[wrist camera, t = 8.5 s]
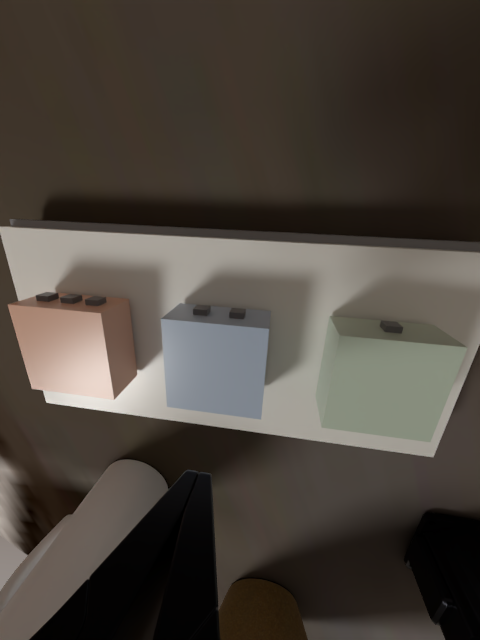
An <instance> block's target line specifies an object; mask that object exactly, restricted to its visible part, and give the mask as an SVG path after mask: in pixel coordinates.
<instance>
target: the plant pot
mask: <svg viewBox="0 0 480 640" xmlns="http://www.w3.org/2000/svg"><path fill="white" fill-rule="evenodd" d="M219 628H220V640H308V639H307V636H306V632H305V629H304V625H303V622H302V619H301V615H300V612H299V609H298V606H297V602H296V600H295V599H294V597H293V596H292V594H291V593H290V592H289V591H287V590H286V589H285V588H283V587H281V586H280V585H278V584H275V583H273V582H270V581H267V580H262V579H242V580H239V581H237V582H235V583H233V584H232V585H231V586H230V588H229V590H228V592H227V594H226V596H225V598H224V600H223V603H222V605H221V607H220V609H219Z"/></svg>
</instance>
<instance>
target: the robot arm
mask: <svg viewBox="0 0 480 640" xmlns="http://www.w3.org/2000/svg"><path fill="white" fill-rule="evenodd" d="M404 561H405V564H406V566H407V567H408V568H409V569H412V571H413V574H414V576H415V579H416V582H417V584H418V587H419V589H420V592H421V595H422V597H423V600H424V603H425V605H426V608H427V611H428V613H429V616H430V618H431V620H432V621H433V623H434V624H435V625H439V626H440V627H441V630H442V632H443V635H444V637H445V640H480V521H476V520H470V519H464V518H458V517H452V516H446V515H440V514H434V513H427V514H425V515H423V517H422V519H421V522H420V524H419V526H418V528H417V531H416V533H415V535H414V538H413V540H412V542H411V544H410V547H409V549H408V551H407V553H406V556H405V558H404ZM29 640H220V628H219V611H218V592H217V572H216V553H215V533H214V514H213V494H212V476H211V474H210V473H205V472H200V473H199V472H198V471H193V470H186V471H185V472H184V473H183V474H182V475H181V476H180V477H179V479H178V480H177V481H176V482H175V483H174V484H173V485H172V486H171V487H170V488H169V490H168V491H167V492H166V493H165V494H164V495H163V496H162V497H161V498H160V499H159V501H158V502H157V503H156V504H155V505H154V506H153V507H152V508H151V509H150V510H149V512H148V513H147V514H146V515H145V516H144V517H143V518H142V519H141V520H140V521H139V523H138V524H137V525H136V526H135V527H134V528H133V529H132V530H131V531H130V532H129V534H128V535H127V536H126V537H125V538H124V539H123V540H122V541H121V542H120V543H119V545H118V546H117V547H116V548H115V549H114V550H113V551H112V552H111V553H110V554H109V556H108V557H107V558H106V559H105V560H104V561H103V562H102V563H101V564H100V565H99V567H98V568H97V569H96V570H95V571H94V572H93V573H92V574H91V575H90V578H89V579H87V580H86V581H85V582H84V583H83V584H82V585H81V586H80V587H79V588H78V589H77V591H76V592H75V593H74V594H73V595H72V596H71V597H70V598H69V599H68V600H67V601H66V602H65V603H64V605H63V606H62V607H61V608H60V609H59V610H58V611H57V612H56V613H55V614H54V615H53V616H52V617H51V618H50V619H49V620H48V621H47V622H46V623H45V624H44V625H43V626H42V627H41V628H40V629H39V630H38V631H37V632H36V633H35V634H34V635H33V636H32V637H31V638H30V639H29Z"/></svg>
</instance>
